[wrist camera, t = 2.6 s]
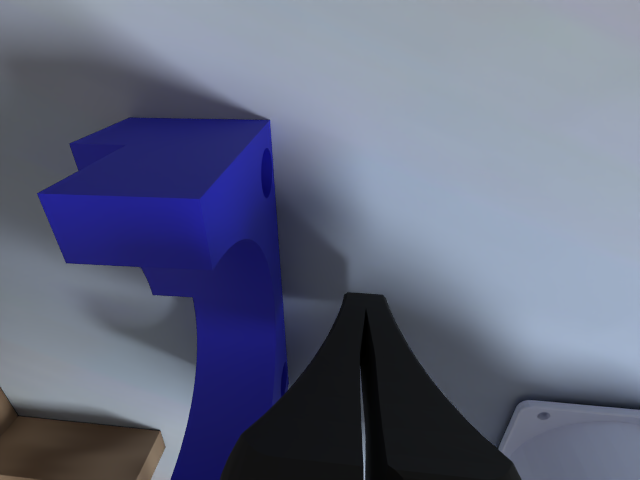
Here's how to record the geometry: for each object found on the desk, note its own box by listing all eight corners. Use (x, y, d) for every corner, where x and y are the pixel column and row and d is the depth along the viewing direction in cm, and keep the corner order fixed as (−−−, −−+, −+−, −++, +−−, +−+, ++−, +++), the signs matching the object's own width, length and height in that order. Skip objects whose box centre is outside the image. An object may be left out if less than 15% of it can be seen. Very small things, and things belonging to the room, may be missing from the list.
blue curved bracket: (131, 116, 12) (-41, 191, 7) (270, 118, 12) (199, 199, 7) (196, 373, 18) (131, 515, 13) (289, 380, 18) (260, 529, 13)
